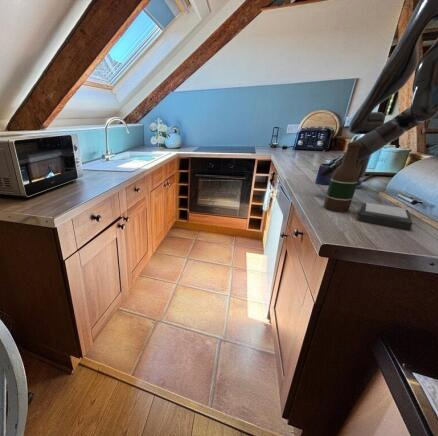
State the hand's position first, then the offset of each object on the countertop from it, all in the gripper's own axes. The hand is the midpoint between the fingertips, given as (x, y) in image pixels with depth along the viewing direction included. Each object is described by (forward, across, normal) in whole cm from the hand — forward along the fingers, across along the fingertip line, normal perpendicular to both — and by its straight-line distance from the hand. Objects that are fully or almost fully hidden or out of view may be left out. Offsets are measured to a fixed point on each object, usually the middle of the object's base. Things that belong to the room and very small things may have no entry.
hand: (321, 173), depth 103 cm
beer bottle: (+3, +16, +11) cm, 20 cm away
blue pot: (+2, 0, +4) cm, 5 cm away
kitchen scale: (-6, +21, +20) cm, 29 cm away
